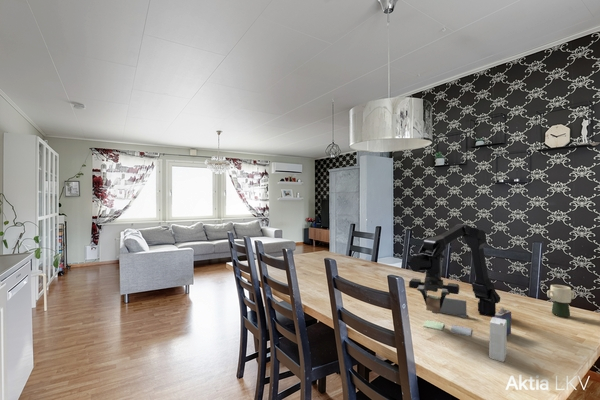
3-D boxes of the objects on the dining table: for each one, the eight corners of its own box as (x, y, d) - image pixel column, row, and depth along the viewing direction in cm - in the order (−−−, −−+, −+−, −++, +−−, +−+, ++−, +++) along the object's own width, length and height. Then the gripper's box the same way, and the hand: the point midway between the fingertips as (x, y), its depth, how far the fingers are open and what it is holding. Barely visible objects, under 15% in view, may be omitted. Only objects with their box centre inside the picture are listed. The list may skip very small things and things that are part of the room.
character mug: (568, 313, 137) (567, 284, 137) (580, 319, 130) (580, 289, 130) (542, 312, 139) (541, 284, 139) (553, 318, 132) (552, 288, 132)
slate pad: (471, 329, 121) (471, 328, 121) (470, 336, 115) (470, 335, 115) (452, 325, 124) (452, 324, 124) (450, 332, 118) (450, 331, 118)
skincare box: (491, 351, 103) (491, 316, 103) (507, 355, 100) (506, 319, 101) (488, 358, 99) (488, 321, 99) (505, 363, 96) (504, 325, 96)
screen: (466, 314, 136) (466, 299, 136) (466, 318, 132) (466, 302, 132) (433, 309, 144) (433, 294, 144) (431, 312, 139) (431, 297, 140)
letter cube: (441, 308, 126) (441, 296, 126) (439, 312, 121) (439, 299, 121) (428, 306, 128) (428, 294, 128) (426, 310, 124) (426, 297, 124)
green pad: (444, 324, 126) (444, 323, 126) (442, 330, 120) (442, 329, 120) (426, 320, 130) (426, 320, 130) (423, 326, 124) (423, 325, 124)
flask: (500, 339, 112) (500, 310, 112) (492, 336, 114) (491, 308, 114) (512, 334, 117) (512, 306, 117) (504, 331, 119) (504, 304, 119)
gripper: (405, 270, 123) (406, 308, 123) (456, 276, 113) (457, 317, 113) (411, 265, 132) (412, 300, 132) (459, 270, 123) (459, 308, 122)
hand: (433, 306), depth 125 cm, fingers closed on letter cube, 5 cm apart
